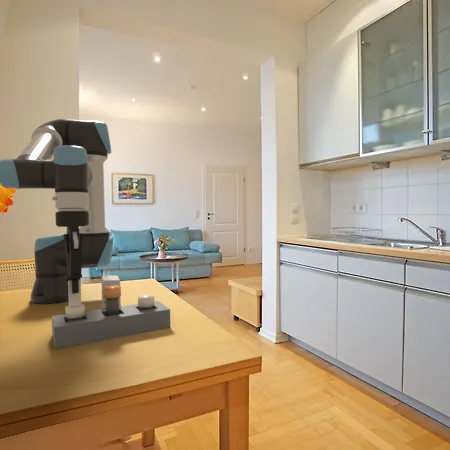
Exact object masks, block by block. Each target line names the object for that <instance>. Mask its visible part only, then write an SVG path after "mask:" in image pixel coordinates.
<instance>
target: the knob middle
mask: <svg viewBox="0 0 450 450" xmlns="http://www.w3.org/2000/svg"><path fill="white" fill-rule="evenodd" d="M103 297H104V298H106V316H112V315H118V314H119V297H120V298H121V297H122V286H121V285H120V286H118V285H112V286H106V287H103Z"/></svg>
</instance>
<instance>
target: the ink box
mask: <svg viewBox="0 0 450 450" xmlns="http://www.w3.org/2000/svg"><path fill="white" fill-rule="evenodd" d="M112 285H118V286H121V280H120V278H119V276H118V274H117V275H102V276H101V309H106V298H104V297H103V287H106V286H112ZM121 301H122V300H121V296H120V297H119V307H120V306H122V304H121Z"/></svg>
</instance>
